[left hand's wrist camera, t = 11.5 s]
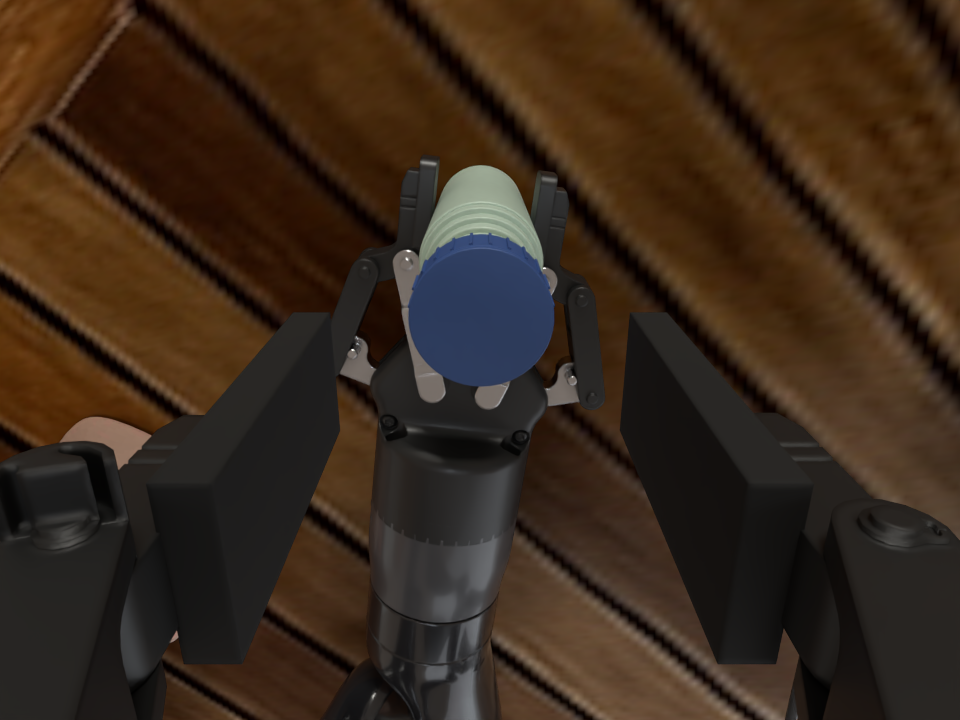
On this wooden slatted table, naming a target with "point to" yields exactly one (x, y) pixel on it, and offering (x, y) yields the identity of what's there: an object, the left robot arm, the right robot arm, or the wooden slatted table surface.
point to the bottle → (480, 212)
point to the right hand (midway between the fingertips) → (488, 167)
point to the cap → (481, 310)
